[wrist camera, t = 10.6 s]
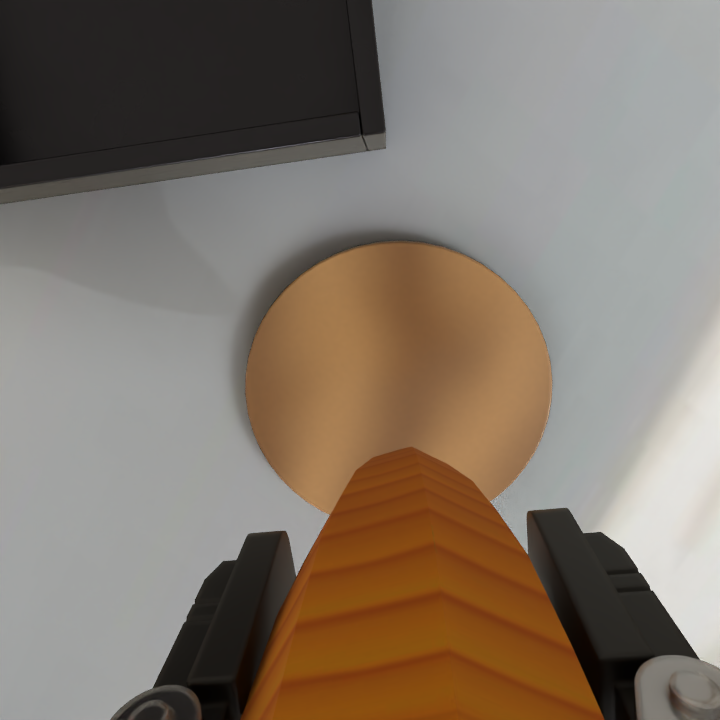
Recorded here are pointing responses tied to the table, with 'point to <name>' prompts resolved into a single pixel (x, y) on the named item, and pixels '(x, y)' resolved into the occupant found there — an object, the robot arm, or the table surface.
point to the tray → (180, 89)
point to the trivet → (397, 370)
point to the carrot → (417, 612)
